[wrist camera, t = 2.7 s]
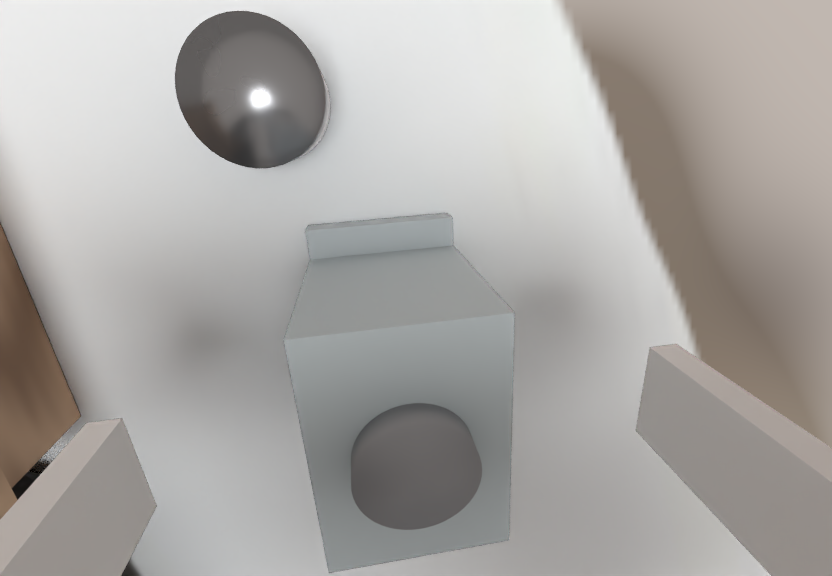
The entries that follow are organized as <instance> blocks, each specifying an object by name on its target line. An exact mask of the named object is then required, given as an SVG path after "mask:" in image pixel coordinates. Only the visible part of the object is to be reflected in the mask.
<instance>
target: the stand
mask: <svg viewBox="0 0 832 576" xmlns="http://www.w3.org/2000/svg"><path fill="white" fill-rule="evenodd" d="M80 417H81V415H80V413H79V411H78V408H77V406H76V403H75V401H74V399H73V396H72V394H71V391H70V389H69V387H68V384H67V382H66V380H65V377H64V375H63V372H62V370H61V368H60V365H59V363H58V360H57V358H56V356H55V353H54V351H53V348H52V346H51V344H50V341H49V339H48V336H47V334H46V332H45V329H44V327H43V324H42V322H41V320H40V317H39V315H38V313H37V310H36V308H35V305H34V303H33V301H32V298H31V296H30V293H29V291H28V289H27V286H26V284H25V281H24V279H23V277H22V274H21V272H20V269H19V267H18V265H17V262H16V260H15V257H14V255H13V253H12V250H11V248H10V246H9V243H8V241H7V238H6V236H5V234H4V231H3V229H2V226H1V224H0V519H1V518H2V517H3V516H4V515H5V514H6V513H7V512H8V510H9V509H10V508H11V507H12V506H13V505H14V504H15V503H16V501H17V498H16V496H15V494H14V492H13V490H12V488H13V486H14V485H15V484H16V483H17V482H18V481H19V480H20V479H21V478H22V477H23V476H24V475H25V474H26V473H27V472H28V471H29V470H30V469H31V468H32V467H33V466H34V465H35V464H36V463H37V461H38V460H39V459H40V458H41V457H42V456H43V455H44V454H45V453H46V452H47V451H48V450H49V449H50V448H51V447H52V446H53V445H54V444H55V443H56V442H57V441H58V440H59V439H60V438H61V437H62V435H63V434H64V433H65V432H66V431H67V430H68V429H69V428H70V427H71V426H72V425H73V424H74V423H75V422H76V421H77V420H78V419H79V418H80Z"/></svg>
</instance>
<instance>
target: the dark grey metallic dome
mask: <svg viewBox="0 0 832 576" xmlns="http://www.w3.org/2000/svg"><path fill="white" fill-rule="evenodd" d="M175 87H176V93H177V99H178V102H179V105H180V108H181V111H182V113H183V115H184V118H185V120H186V121H187V123H188V125H189V126H190V128H191V129H192V131H193V132H194V133H195V135H196V136H197V137H198V138H199V139H200V140H201V142H202V143H203V144H204V145H206V146H207V147H208V148H209V149H210V150H211V151H213V152H214V153H216V154H217V155H219V156H220V157H222V158H224V159H226V160H228V161H230V162H233V163H235V164H238V165H242V166H246V167H252V168H270V167H276V166H279V165H283V164H285V163H288V162H290V161H292V160H295V159H297V158H299V157H301V156H304V155H305V154H307V153H308V152H310V151H311V150H312V149H313V148H315V146H316V145H317V144H318V143H319V142H320V140H321V139H322V137H323V136H324V134H325V132H326V130H327V127H328V123H329V119H330V110H331V104H330V96H329V91H328V87H327V84H326V82H325V79H324V77H323V75H322V73H321V71H320V69H319V67H318V65H317V63H316V61H315V59H314V57H313V56H312V54H311V52H310V51H309V49H308V48H307V47H306V45H305V44H304V43H303V41H302V40H301V39H300V38H299V37H298V36H297V35H296V34H295V33H293V32H292V31H291V30H290V29H289V28H287V27H286V26H284V25H283V24H281V23H280V22H278V21H276V20H274V19H272V18H270V17H268V16H265V15H262V14H259V13H254V12H249V11H232V12H225V13H222V14H218V15H215V16H213V17H211V18H209V19H207V20H205V21H204V22H202V23H201V24H200V25H199V26H197V27H196V28H195V29H194V30H193V31H192V32H191V34H190V35H189V36H188V37H187V39H186V41H185V42H184V44H183V46H182V48H181V50H180V53H179V56H178V59H177V64H176V71H175Z"/></svg>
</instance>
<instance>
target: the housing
mask: <svg viewBox="0 0 832 576" xmlns="http://www.w3.org/2000/svg"><path fill="white" fill-rule="evenodd" d="M306 237H307V243H308V249H309V256H310V262H309V265H308V268H307V271H306V274H305V277H304V280H303V283H302V286H301V289H300V292H299V295H298V298H297V301H296V304H295V307H294V310H293V313H292V316H291V319H290V322H289V325H288V328H287V331H286V334H285V337H284V345H285V350H286V355H287V360H288V365H289V371H290V376H291V381H292V386H293V391H294V396H295V401H296V406H297V412H298V417H299V422H300V427H301V432H302V437H303V442H304V447H305V453H306V458H307V463H308V468H309V473H310V478H311V483H312V488H313V494H314V499H315V504H316V509H317V514H318V519H319V524H320V529H321V535H322V540H323V545H324V550H325V555H326V560H327V565H328V570H329V573H332V572H338V571H343V570H349V569H354V568H360V567H365V566H371V565H376V564H382V563H387V562H393V561H398V560H404V559H409V558H415V557H420V556H426V555H431V554H437V553H442V552H447V551H453V550H458V549H464V548H469V547H475V546H480V545H486V544H491V543H497V542H502V541H508V540H509V526H510V485H511V444H512V403H513V362H514V321H515V312H514V311H513V310H512V309H511V308H510V307H509V306H508V305H507V304H506V303H505V301H504V300H503V299H502V298H501V297H500V296H499V295H498V294H497V293H496V292H495V291H494V289H493V288H492V287H491V286H490V285H489V284H488V283H487V282H486V281H485V280H484V279H483V277H482V276H481V275H480V274H479V273H478V272H477V271H476V270H475V269H474V268H473V266H472V265H471V264H470V263H469V262H468V261H467V260H466V259H465V258H464V257H463V256H462V254H461V253H460V252H459V251H458V250H457V249H456V248H455V247H454V246H453V218H452V217H451V216H450V215H449V214H448V213H440V214H429V215H418V216H406V217H395V218H384V219H373V220H362V221H350V222H339V223H328V224H317V225H308V227H307V229H306Z"/></svg>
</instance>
